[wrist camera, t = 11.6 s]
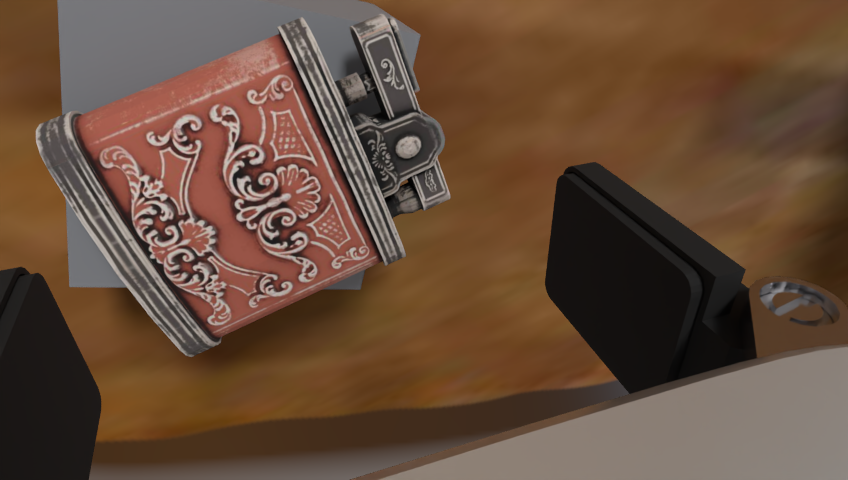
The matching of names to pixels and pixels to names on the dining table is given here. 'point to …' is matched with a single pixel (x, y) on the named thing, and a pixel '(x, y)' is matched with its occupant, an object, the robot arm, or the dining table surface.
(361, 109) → the gray block
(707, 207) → the dining table surface
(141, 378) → the dining table surface
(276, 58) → the lighter
